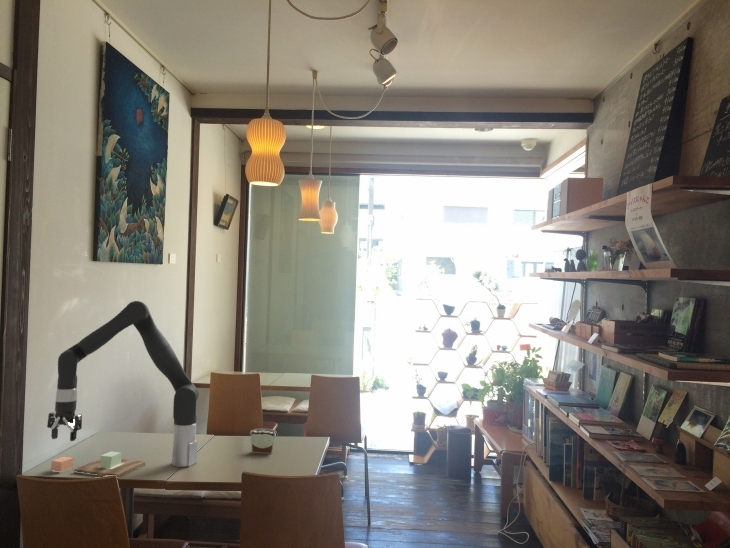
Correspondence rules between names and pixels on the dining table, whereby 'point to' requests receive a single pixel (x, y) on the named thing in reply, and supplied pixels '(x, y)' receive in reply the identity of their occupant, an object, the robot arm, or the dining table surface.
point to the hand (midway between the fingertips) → (63, 439)
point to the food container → (262, 440)
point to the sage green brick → (110, 459)
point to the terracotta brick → (62, 463)
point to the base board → (117, 470)
